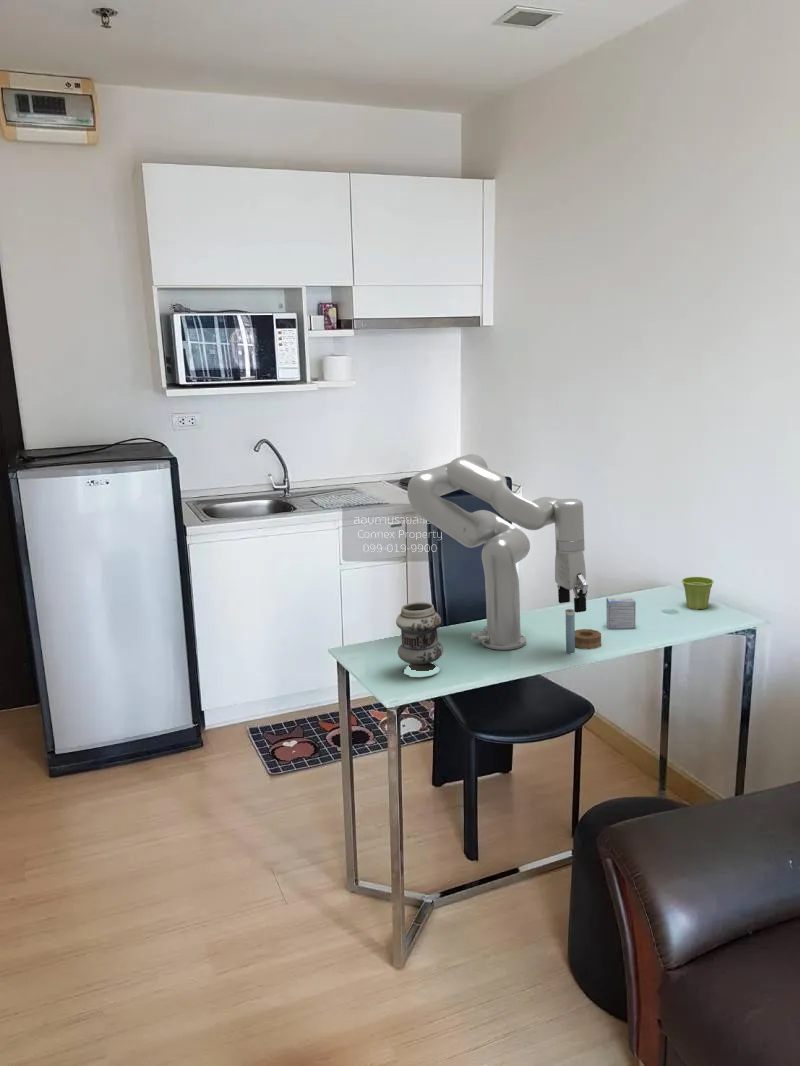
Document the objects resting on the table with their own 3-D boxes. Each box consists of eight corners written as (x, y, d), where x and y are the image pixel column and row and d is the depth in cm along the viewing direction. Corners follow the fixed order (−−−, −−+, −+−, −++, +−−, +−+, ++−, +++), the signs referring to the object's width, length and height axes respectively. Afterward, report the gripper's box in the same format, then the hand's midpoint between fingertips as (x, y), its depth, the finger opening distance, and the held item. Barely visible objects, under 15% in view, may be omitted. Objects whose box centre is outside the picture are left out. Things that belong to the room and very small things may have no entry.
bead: (579, 650, 224) (579, 640, 223) (566, 641, 231) (566, 631, 231) (606, 646, 226) (606, 636, 225) (592, 637, 233) (592, 627, 233)
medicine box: (633, 624, 243) (633, 596, 241) (635, 629, 239) (636, 600, 237) (606, 624, 244) (606, 597, 242) (608, 629, 239) (608, 601, 238)
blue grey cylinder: (568, 654, 221) (567, 612, 219) (564, 651, 224) (563, 609, 221) (576, 653, 222) (576, 611, 219) (572, 650, 224) (572, 608, 222)
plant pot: (703, 613, 249) (704, 586, 248) (675, 607, 256) (676, 581, 254) (718, 606, 255) (719, 579, 254) (690, 601, 262) (691, 575, 261)
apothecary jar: (418, 659, 223) (414, 597, 220) (453, 668, 216) (450, 603, 212) (389, 673, 214) (385, 608, 211) (424, 683, 207) (421, 615, 203)
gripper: (543, 541, 224) (546, 601, 227) (571, 553, 207) (573, 617, 211) (568, 538, 225) (570, 597, 229) (598, 549, 209) (600, 613, 212)
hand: (572, 606), depth 220 cm, fingers open, 9 cm apart
